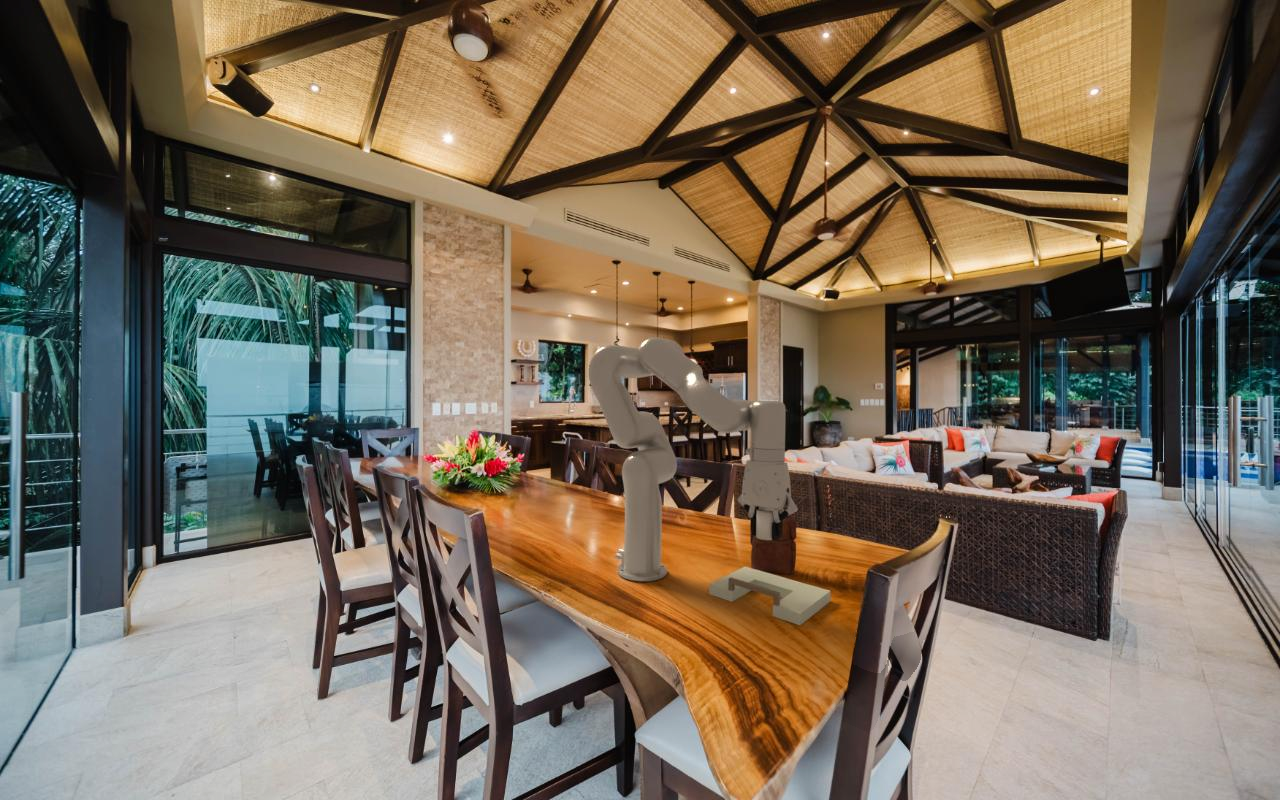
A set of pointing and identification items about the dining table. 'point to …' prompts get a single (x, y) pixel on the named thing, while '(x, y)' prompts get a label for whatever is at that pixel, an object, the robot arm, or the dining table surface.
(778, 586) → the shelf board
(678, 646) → the dining table surface
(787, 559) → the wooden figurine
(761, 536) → the white cylinder
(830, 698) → the dining table surface
